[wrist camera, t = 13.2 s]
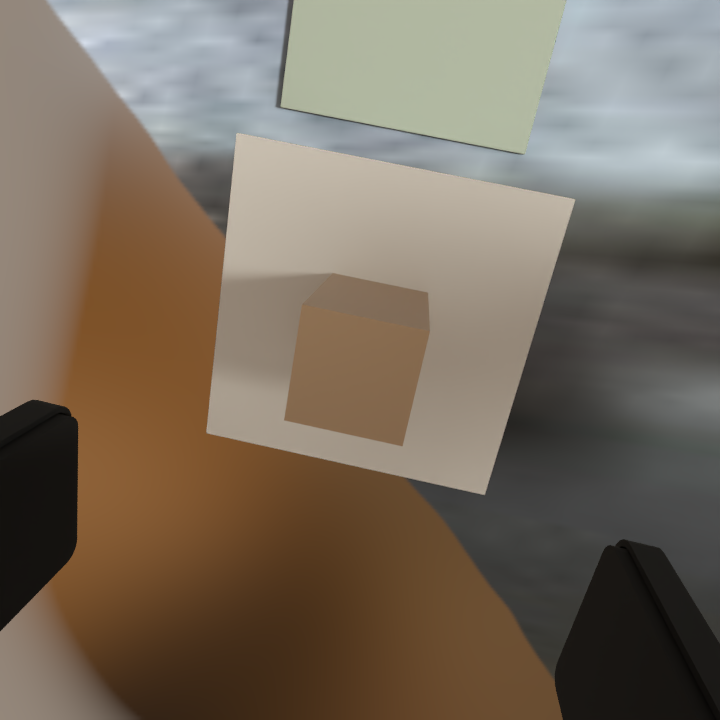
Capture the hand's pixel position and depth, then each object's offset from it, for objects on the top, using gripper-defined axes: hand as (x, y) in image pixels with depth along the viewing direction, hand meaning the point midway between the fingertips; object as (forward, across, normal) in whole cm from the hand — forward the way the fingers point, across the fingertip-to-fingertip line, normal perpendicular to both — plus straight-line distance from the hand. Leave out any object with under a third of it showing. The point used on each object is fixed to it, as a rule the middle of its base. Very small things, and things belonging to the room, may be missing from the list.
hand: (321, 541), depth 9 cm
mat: (+30, +2, -17) cm, 35 cm away
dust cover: (+30, +1, 0) cm, 30 cm away
